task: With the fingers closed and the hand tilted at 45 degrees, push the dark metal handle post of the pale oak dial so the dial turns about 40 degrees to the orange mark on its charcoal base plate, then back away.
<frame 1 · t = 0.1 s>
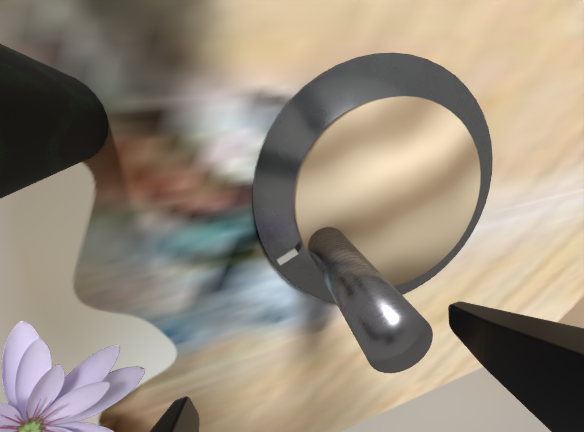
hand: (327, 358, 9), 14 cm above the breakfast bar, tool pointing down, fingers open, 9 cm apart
water lily: (81, 370, 24), on the breakfast bar
dial: (429, 221, 17), point 7 cm above the breakfast bar, hinge at 0.0°
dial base: (375, 194, 24), on the breakfast bar
cup: (61, 118, 18), on the breakfast bar
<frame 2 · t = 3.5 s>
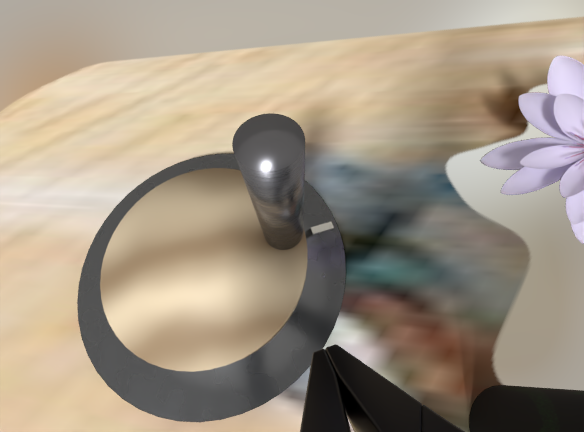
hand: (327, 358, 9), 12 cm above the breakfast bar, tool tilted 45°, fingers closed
water lily: (538, 178, 25), on the breakfast bar
dial: (181, 233, 16), point 7 cm above the breakfast bar, hinge at 0.0°
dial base: (215, 263, 23), on the breakfast bar
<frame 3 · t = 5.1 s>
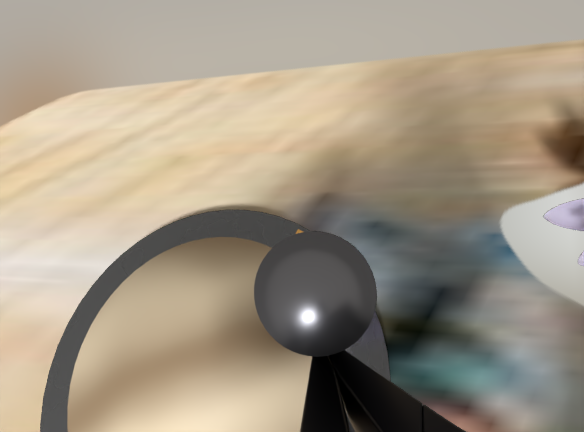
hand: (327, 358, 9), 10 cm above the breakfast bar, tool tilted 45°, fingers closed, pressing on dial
dial: (175, 371, 11), point 7 cm above the breakfast bar, hinge at 4.9°, touching gripper
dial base: (221, 361, 18), on the breakfast bar
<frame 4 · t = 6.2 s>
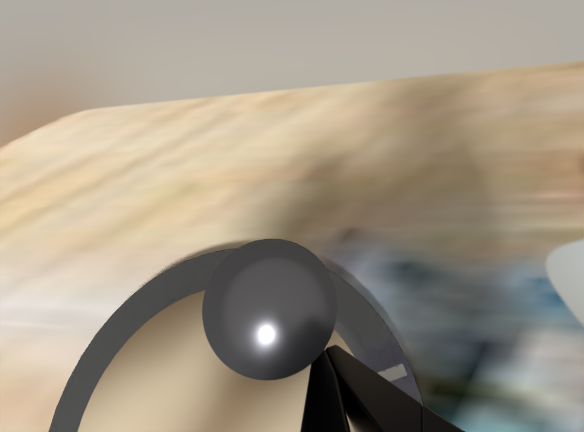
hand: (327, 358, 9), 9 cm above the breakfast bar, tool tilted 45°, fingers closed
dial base: (238, 426, 16), on the breakfast bar
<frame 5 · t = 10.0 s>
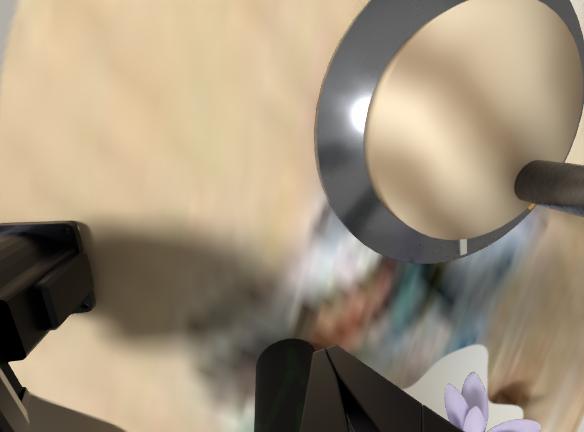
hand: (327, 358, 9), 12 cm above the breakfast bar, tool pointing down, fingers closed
water lily: (444, 404, 31), on the breakfast bar
dial: (554, 135, 14), point 7 cm above the breakfast bar, hinge at 42.5°
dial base: (451, 131, 20), on the breakfast bar
cup: (287, 362, 25), on the breakfast bar
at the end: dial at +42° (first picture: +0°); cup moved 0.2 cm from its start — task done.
